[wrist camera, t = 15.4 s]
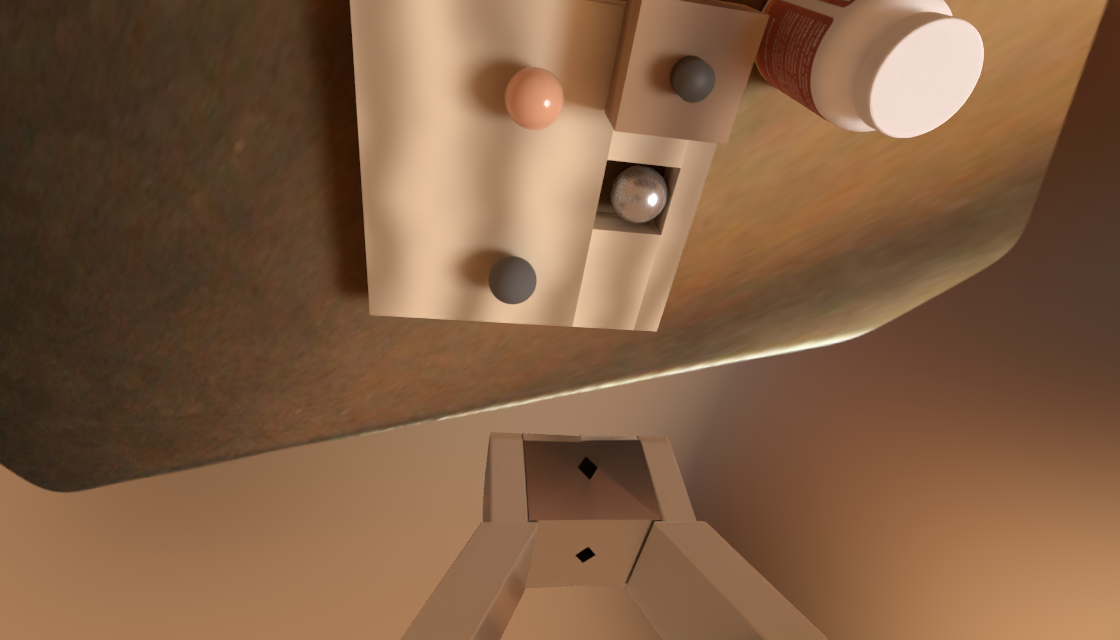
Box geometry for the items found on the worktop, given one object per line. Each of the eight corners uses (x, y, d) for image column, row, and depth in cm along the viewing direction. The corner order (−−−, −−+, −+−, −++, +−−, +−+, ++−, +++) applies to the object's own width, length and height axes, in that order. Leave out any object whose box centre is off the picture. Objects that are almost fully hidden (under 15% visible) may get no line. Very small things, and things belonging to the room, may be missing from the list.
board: (375, 293, 39) (369, 315, 37) (357, -43, 27) (347, -38, 25) (648, 310, 42) (656, 331, 40) (737, 19, 31) (754, 27, 29)
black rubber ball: (486, 285, 36) (486, 312, 34) (490, 245, 35) (490, 271, 32) (532, 288, 37) (534, 315, 35) (537, 249, 35) (541, 274, 33)
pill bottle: (792, 109, 34) (897, 183, 25) (726, 42, 31) (819, 100, 23) (879, 18, 31) (1031, 66, 23) (816, -64, 29) (961, -44, 20)
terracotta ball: (501, 116, 30) (502, 135, 28) (506, 56, 28) (508, 71, 26) (556, 122, 31) (561, 141, 28) (564, 64, 29) (571, 79, 26)
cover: (604, 112, 30) (619, 139, 27) (629, -15, 27) (649, -2, 23) (708, 125, 31) (734, 153, 28) (745, 4, 28) (780, 20, 24)
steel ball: (633, 204, 38) (594, 212, 36) (646, 153, 35) (605, 159, 34) (670, 227, 35) (630, 237, 34) (685, 175, 33) (644, 183, 31)
